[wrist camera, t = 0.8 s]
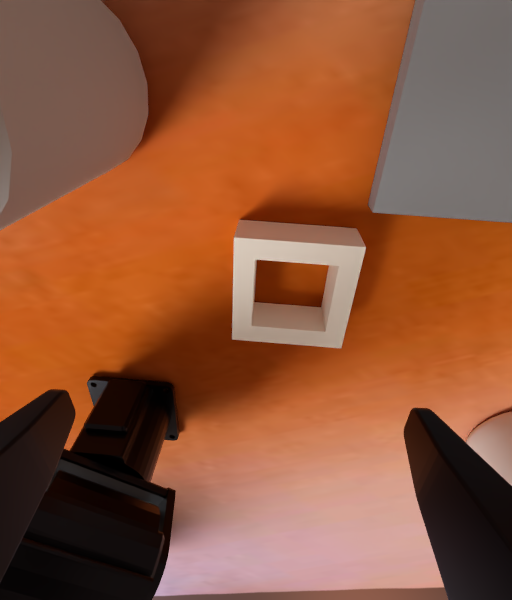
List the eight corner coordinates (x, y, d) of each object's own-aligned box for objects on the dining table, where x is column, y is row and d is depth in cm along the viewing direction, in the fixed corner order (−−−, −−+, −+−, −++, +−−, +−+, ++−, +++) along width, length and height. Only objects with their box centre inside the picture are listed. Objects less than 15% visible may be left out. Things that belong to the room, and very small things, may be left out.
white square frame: (335, 322, 22) (341, 348, 20) (236, 314, 22) (231, 339, 20) (356, 228, 19) (366, 247, 17) (239, 219, 19) (233, 237, 17)
